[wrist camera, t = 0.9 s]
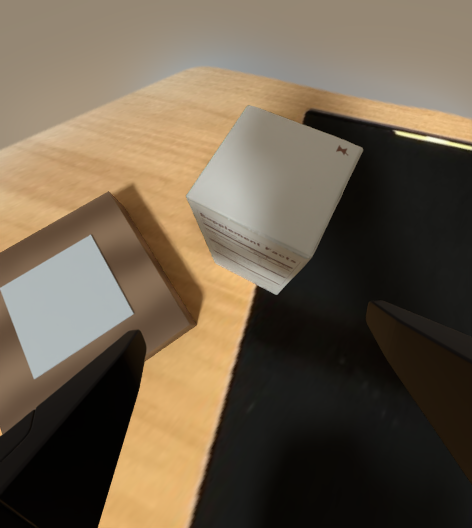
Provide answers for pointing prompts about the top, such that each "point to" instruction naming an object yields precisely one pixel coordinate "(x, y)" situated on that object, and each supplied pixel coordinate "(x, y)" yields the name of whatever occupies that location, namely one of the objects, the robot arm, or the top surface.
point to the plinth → (78, 302)
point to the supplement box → (270, 195)
